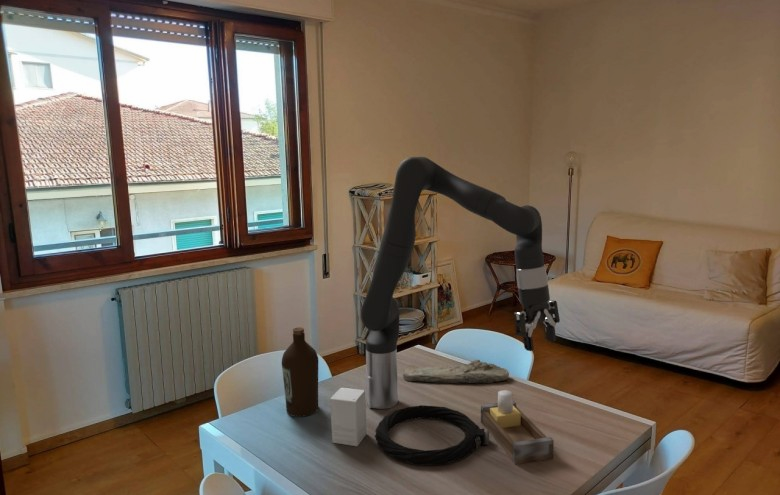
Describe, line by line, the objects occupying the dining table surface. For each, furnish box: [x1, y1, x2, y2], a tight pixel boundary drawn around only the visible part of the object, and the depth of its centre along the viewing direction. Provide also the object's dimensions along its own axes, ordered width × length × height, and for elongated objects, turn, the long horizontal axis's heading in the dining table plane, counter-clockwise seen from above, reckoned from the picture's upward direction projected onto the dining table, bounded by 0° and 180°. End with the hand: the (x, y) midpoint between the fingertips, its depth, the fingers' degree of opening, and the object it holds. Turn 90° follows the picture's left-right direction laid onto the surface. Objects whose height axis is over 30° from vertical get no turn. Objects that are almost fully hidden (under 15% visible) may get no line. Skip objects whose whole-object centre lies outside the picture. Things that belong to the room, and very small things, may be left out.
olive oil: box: [281, 327, 319, 418], centre depth 164 cm, size 11×11×25 cm
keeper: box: [490, 389, 521, 428], centre depth 153 cm, size 7×5×8 cm
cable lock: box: [374, 404, 490, 466], centre depth 149 cm, size 28×4×30 cm
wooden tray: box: [480, 400, 555, 465], centre depth 147 cm, size 10×22×5 cm, turn 13°
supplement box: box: [329, 387, 368, 447], centre depth 149 cm, size 7×7×13 cm
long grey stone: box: [402, 359, 510, 384], centre depth 186 cm, size 35×5×10 cm
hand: (540, 345), depth 144 cm, fingers open, 8 cm apart
